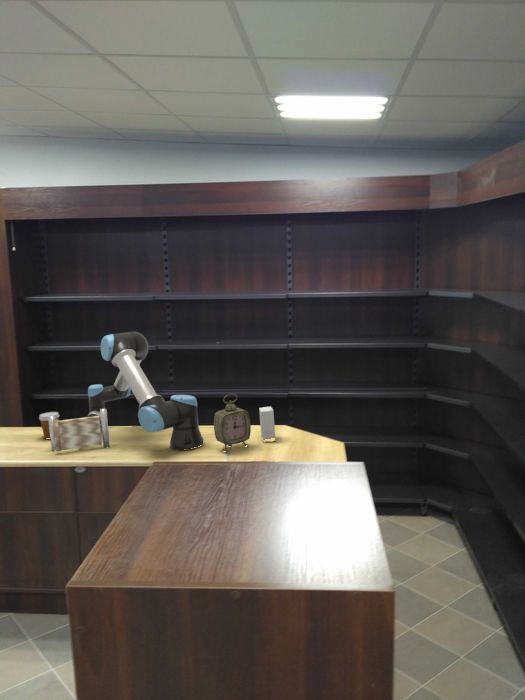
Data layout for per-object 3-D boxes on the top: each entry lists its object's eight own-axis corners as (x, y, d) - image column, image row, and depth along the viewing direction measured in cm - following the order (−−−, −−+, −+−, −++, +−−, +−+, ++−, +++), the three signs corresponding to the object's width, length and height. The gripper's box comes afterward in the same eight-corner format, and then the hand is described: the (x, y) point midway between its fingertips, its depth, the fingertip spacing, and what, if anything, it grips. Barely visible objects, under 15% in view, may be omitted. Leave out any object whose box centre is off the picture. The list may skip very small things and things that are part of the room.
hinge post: (110, 445, 253) (106, 408, 250) (109, 447, 250) (105, 409, 247) (104, 446, 253) (100, 408, 250) (102, 448, 250) (99, 410, 247)
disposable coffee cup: (48, 442, 263) (45, 417, 261) (37, 438, 269) (34, 415, 267) (65, 436, 270) (63, 413, 268) (54, 433, 276) (52, 410, 274)
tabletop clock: (223, 455, 234) (220, 398, 230) (213, 449, 241) (210, 394, 237) (251, 447, 242) (249, 392, 238) (241, 442, 249) (238, 389, 245)
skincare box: (275, 442, 248) (274, 410, 245) (262, 443, 247) (261, 411, 245) (273, 436, 256) (271, 405, 254) (260, 437, 255) (258, 406, 253)
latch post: (59, 448, 252) (55, 415, 249) (57, 450, 249) (53, 417, 247) (52, 449, 252) (49, 415, 249) (50, 451, 249) (47, 417, 247)
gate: (101, 443, 252) (98, 414, 250) (101, 445, 250) (99, 415, 247) (56, 449, 246) (53, 419, 244) (56, 451, 244) (52, 421, 241)
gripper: (107, 427, 272) (95, 442, 249) (80, 428, 272) (66, 444, 248) (105, 412, 271) (93, 426, 248) (79, 414, 270) (64, 428, 247)
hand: (79, 435), depth 248 cm, fingers closed
